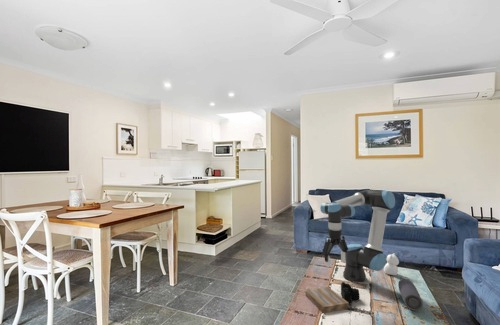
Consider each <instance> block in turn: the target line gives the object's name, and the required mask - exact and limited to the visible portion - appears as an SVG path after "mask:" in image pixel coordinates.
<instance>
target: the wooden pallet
mask: <svg viewBox="0 0 500 325" xmlns="http://www.w3.org/2000/svg"><path fill="white" fill-rule="evenodd" d="M305 296H306V298H308V299H309V300H310V301H311V302H312V303H313V304H314V305H315V306H316V307H317V308H318V309H319V310H320V311H321V312H322V313H323V314H324V313H331V312H336V311H342V310H347V309H350V305H349V303H348V302H347V301H346V300H344V299H343V298H342V296H341V295H339V294H338V293H337V292H335V290H333V289H331V288H330V287H329V286H327V287H320V288H313V289H305Z"/></svg>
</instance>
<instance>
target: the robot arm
mask: <svg viewBox="0 0 500 325" xmlns="http://www.w3.org/2000/svg"><path fill="white" fill-rule="evenodd" d="M357 206H359V207H360V206H371V209H372V211H373V212H372V215H371V222H370V228H369V232H368V233H369V234H368V239H367V244H366V245H364V246H363V245H362V244H359V243H352V244H347V242H346V240H345V236H344V235H343V234H342V232H343V231H342V219H346V218H351V217H353V216H355V214H356V209H355V207H357ZM395 206H396V198H395V195H394V192H392V191H390V190H383V189H379V190H378V189H366V190H362V191H359V192H355V193H354V194H353V195H351V196H347V197H343V198H341V199H338V200H334V201H332V202H323V203H321V204H320V207H319V208H320V211H321V213H322V214H325V215H327V221H328V222H327V223H328V224H327V225H328V232H327V233H328V236H329V238H328V237H327V238H325V242H324V245H323V248H322V251H321V255H322V256H324V264H325V267H326V268H330V267H331V266H330V265H331V264H330V263H331V262H330V261H331V260H330V258H331V256H330V253H331V251H332V250H333V248H334V247H335V246H338V247H339V248H340V249H341V251H340V262H341V263H344V264H345V266H344V270H343V276H342V277H343V278H344V279H345V280H347V281H351V282H357V283H362V282H365V281H366V280H367V275H366V273H365V268H366V269H369V270H372V271H376V272H380V271H382V270H383V268H384V266H385V265H386V264H387V260H386V259H387V256H386V255H385V254H384V250H383V249H382V247H383V246H382V245H383V241H384V240H383V239H384V233H385V228H386V222H387V217H388V216H387V215H388V213H390V212H391V209H393V208H394V207H395Z"/></svg>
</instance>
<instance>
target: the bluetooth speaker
mask: <svg viewBox="0 0 500 325" xmlns="http://www.w3.org/2000/svg"><path fill="white" fill-rule="evenodd" d="M397 285H398V286H397V287H398V290H399V293H400V296H401V298H402V300H403V303H404V304H405V306H406V307H407V308H408V309H409V310H412V311H419V310H421V309H422V308H423V301H422V300H423V299H422V297H421V296H420V292H419V291H418V289H417V288H416V285H415V284H414V283H413V282H412V280H410V279H409V278H407V277H405V278H401V279H399V281H398V284H397Z"/></svg>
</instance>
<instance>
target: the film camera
mask: <svg viewBox="0 0 500 325" xmlns="http://www.w3.org/2000/svg"><path fill="white" fill-rule="evenodd" d="M340 296H341V297H342V298H343V299H344V300H346V301H347V302H348V303H349V306H350V305H351V304H352V302H353V301H359V300H360V291H359V289H358V288H353V287H352V286H351V284H349V283H346V282H345V281H343V282H341V283H340Z"/></svg>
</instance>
